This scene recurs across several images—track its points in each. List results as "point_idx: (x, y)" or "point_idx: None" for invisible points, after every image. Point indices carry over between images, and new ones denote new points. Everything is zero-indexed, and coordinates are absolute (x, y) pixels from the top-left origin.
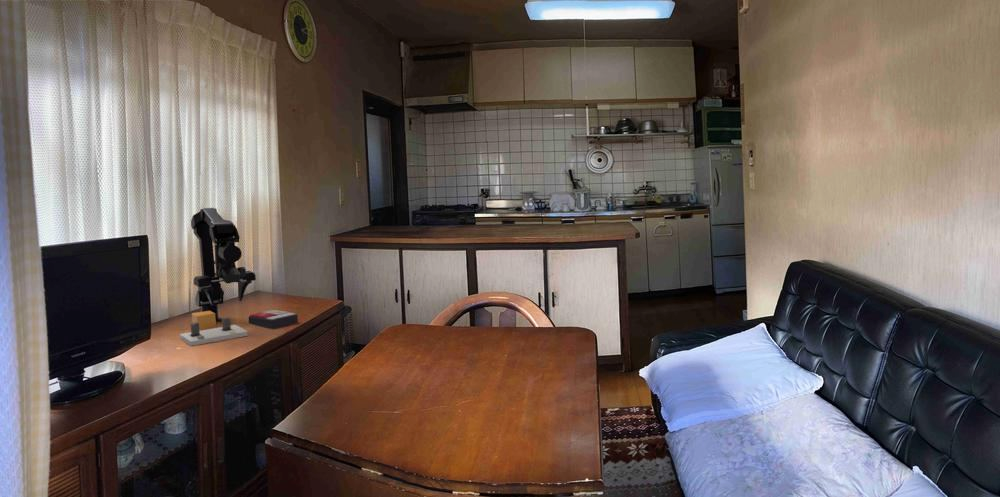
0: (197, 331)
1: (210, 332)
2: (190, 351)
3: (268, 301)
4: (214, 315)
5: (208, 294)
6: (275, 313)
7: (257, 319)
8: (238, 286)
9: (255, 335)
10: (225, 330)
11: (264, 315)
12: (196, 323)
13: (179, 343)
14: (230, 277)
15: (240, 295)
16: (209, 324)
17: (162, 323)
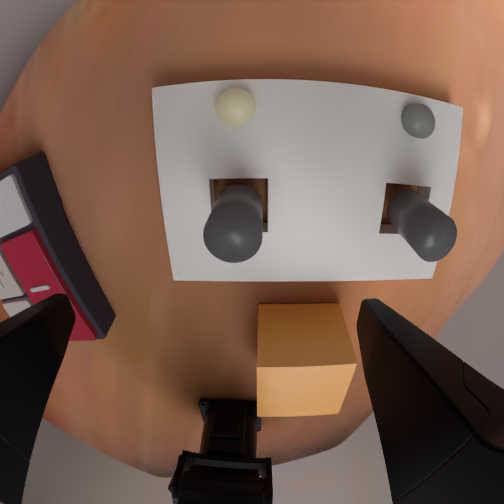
0: (414, 198)
1: (333, 207)
2: (466, 31)
3: (80, 436)
4: (261, 359)
5: (491, 386)
6: (6, 275)
7: (71, 273)
8: (23, 451)
9: (128, 70)
10: (252, 188)
11: (38, 274)
12: (431, 232)
13: (460, 189)
14: None
15: (27, 328)
16: (289, 325)
17: (345, 435)
